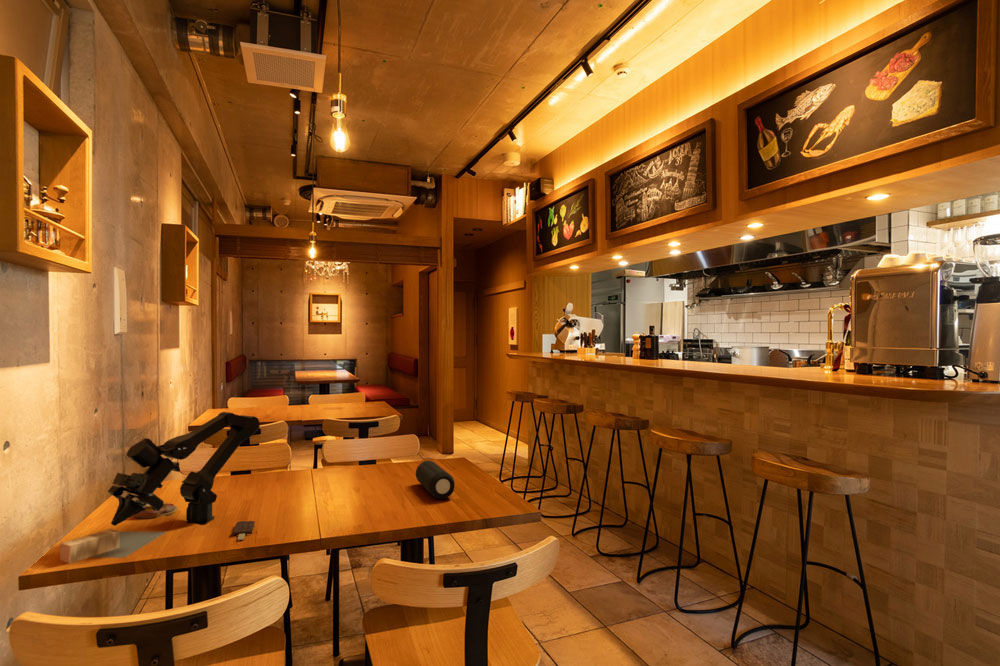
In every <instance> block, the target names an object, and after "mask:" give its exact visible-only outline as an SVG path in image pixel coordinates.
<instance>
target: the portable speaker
mask: <svg viewBox="0 0 1000 666" xmlns="http://www.w3.org/2000/svg"><path fill="white" fill-rule="evenodd" d="M415 477H416V480H417V482H418V483H419V484H421V486H422V487H423V488H425V490H426V491H427V492H428V493H429V494H430V495H431V496H432V497H434V498H435V499H438V500H443V499H446V498H448V497H451V495H452V494H453V492H454V490H455V484H456V483H455V479H454V477H453V476H452V474H450V473H448V471H446V470H445V469H443V468H442V467H440V465H438V463H436V462H434V461H432V460H425V461H422V462H421V463H420V464H419V465H418V466H416V470H415Z"/></svg>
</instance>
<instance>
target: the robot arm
mask: <svg viewBox="0 0 1000 666" xmlns="http://www.w3.org/2000/svg"><path fill="white" fill-rule="evenodd" d="M229 426H230V427H229ZM226 427H229V431H228V432H229V434H228V435H227V436H226V438H225V439H224V441H223V442H222V443H221V444H220V445H219V447H218V448H216V451H214V453H213V454H212V455H211V457H210V458H209V459H208V460H207V461H206V462H205V464H204V466H203V467H202V468H201V469H200V470H198V471H197V472H195V471H190V472H189V473H188V475H187V476H186V477H185V478H184V480H182V481H181V485H180V487H179V490H180V491H179V493H180V495H181V497H182V498H183V499H184V502H185V503H187V507H186V510H185V511H186V515H185V516H186V517H185V518H186V520H185V522H184V524H195V525H206V524H208V523H210V522H211V521H212V520H214V519H215V518H216V516H215V515H214V516H213V503H216V501H217V497H218V495H217V494H216V493H215V492H213V491H212V488H213V487H214V482H215V478H216V476H217V475H218V473H219V472H220V471H221V470H222V468H223V467H224V466H225V464H226V463H227V462H228V461H229V459H230V458H232V456H233V454H234V453H235V452H236V450H237V449H238V448H239V447H240V445H241V444H242V443H243V442H244V441H246V440H247V439H249V438H251V437H253V435H255V433H257V432H258V430H259V428H260V420H259V418H258V417H257V416H252V415H246V414H244V415H243V414H241V415H240V414H235V413H233V412H229V411H221V412H219V413H218V415H217V416H215V417H213V418H211V419H209V420H208V421H207V422H205V423H203V424H202V425H200V426H198V427H196V428H195V429H193V430H192V431H190V432H188V433H186V434H181V435H178V436H175V437H172V438H169V439H168V440H167V441H165V442H164V443H163V444H160V445H156V444H155V443H154V442H153V441H152V440H151V439H150V438H147V437H145V438H144V437H143V439H142V440H141V441H138V442H137V443H135V444H134V445H131V446H130V447H129V449H128V450H127V452H126V457H128V458H129V459H130V460H132V461H133V462H134V463H136V465H138V466H140V467H141V468H142V469H144V468H146V469H145V470H144V471H143V473H142V472H141V473H140V472H139V473H138V472H132V473H131V474H124V473H121V472H117V473H116V475H115V477H114V479H113V481H112V486H111V487H110V488H109V489H108V490H107V493H108V494H110V495H111V496H113V497H114V498H116V499H117V500H118V506H117V509H116V511H115V514H114V516H113V518H112V520H111V523H110V524H111V525H112V526H114V527H115V526H117V525H119V524H121V523H123V522H125V521H126V520H128V519H130V518H131V517H133V516H134V515H135V514H137V513H139V512H141V511H145V510H146V509H145V508H144V507H145V506H146V505H147V504H149V505H150V506H152V509H153V510H155V511H160V509H161V508H162V507H163V506H164V503H165V502H164V500H163V499H161V498H160V497H159V496H157V495H156V494H155V491H156V490H157V489H162V487H163V486H164V485H163V484H162V483H163V482H164V481H165V480H166V478H167V477H168V476H169V475H170V473H171V472H177V473H180V472H181V467H180V462H177V461H172V460H171V459H175V460H185V459H187V458H188V457H189V456H191V454H193V453H194V452H195V451H196V449H197V447H199V445H200V444H202V443H203V442H204V441H207V440H208V439H209V438H211V437H212V436H214V435H215V434H217V433H219V432H220V431H222V430H224V428H226ZM163 456H165V457H163Z"/></svg>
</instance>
